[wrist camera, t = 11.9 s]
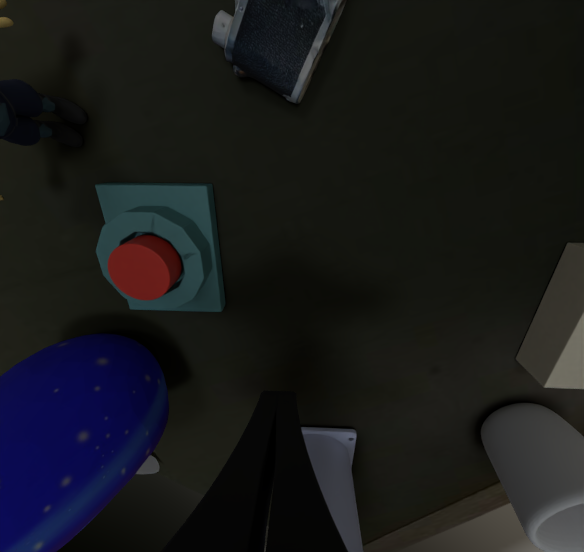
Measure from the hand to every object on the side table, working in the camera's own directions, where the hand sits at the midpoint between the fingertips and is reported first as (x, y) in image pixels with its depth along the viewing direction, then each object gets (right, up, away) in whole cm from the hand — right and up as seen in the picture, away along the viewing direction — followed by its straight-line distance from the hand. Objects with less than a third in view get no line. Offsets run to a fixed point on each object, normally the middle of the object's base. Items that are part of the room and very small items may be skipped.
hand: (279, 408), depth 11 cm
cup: (+22, -9, +15) cm, 28 cm away
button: (-8, +6, +6) cm, 12 cm away
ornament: (-14, -1, +13) cm, 19 cm away
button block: (-8, +7, +8) cm, 14 cm away
